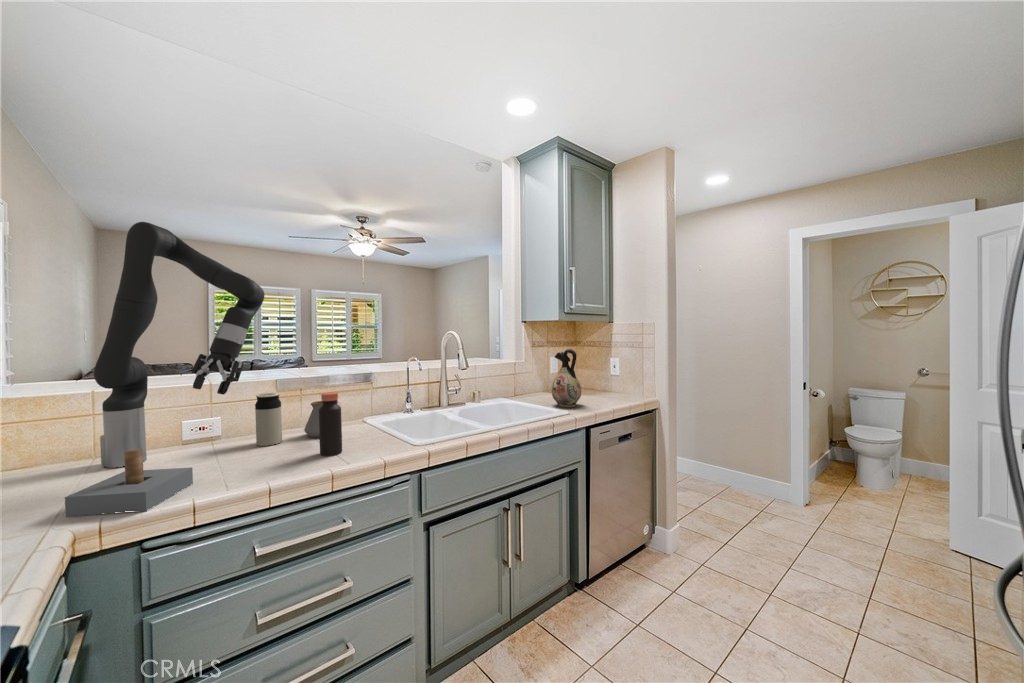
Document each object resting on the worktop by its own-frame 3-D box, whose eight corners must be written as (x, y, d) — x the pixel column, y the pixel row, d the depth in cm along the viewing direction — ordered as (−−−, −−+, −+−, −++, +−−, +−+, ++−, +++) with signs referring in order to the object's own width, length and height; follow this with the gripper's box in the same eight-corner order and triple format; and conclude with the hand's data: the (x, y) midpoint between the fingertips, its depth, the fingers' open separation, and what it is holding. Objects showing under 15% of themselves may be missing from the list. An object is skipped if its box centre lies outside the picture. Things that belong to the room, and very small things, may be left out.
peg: (122, 502, 94) (120, 453, 94) (133, 496, 97) (131, 449, 97) (137, 501, 95) (135, 452, 94) (147, 495, 98) (145, 448, 97)
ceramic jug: (545, 406, 203) (545, 349, 202) (561, 402, 215) (561, 347, 214) (574, 410, 192) (573, 350, 191) (589, 405, 204) (589, 348, 203)
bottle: (315, 455, 128) (313, 394, 127) (331, 449, 134) (330, 391, 134) (330, 457, 126) (329, 395, 125) (346, 451, 132) (345, 392, 131)
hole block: (65, 517, 87) (64, 497, 87) (125, 488, 103) (124, 471, 103) (146, 511, 89) (145, 492, 89) (193, 483, 105) (192, 467, 105)
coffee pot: (299, 435, 152) (298, 397, 152) (329, 429, 161) (328, 393, 160) (322, 446, 138) (321, 403, 138) (354, 439, 147) (353, 399, 146)
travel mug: (267, 447, 137) (265, 396, 136) (251, 445, 140) (249, 395, 139) (287, 441, 144) (285, 393, 144) (271, 439, 147) (270, 392, 147)
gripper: (199, 333, 119) (177, 385, 114) (239, 340, 116) (218, 393, 112) (219, 340, 126) (199, 389, 122) (258, 347, 124) (238, 397, 119)
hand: (208, 391), depth 117 cm, fingers open, 8 cm apart
